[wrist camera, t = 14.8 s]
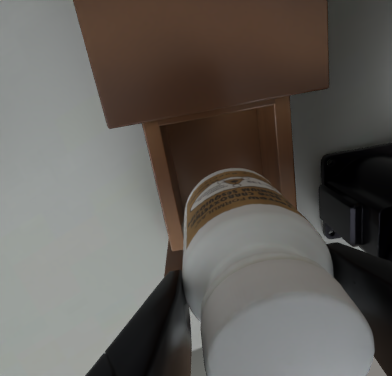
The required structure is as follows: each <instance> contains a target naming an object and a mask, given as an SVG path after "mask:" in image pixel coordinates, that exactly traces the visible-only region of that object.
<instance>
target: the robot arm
mask: <svg viewBox="0 0 392 376" xmlns="http://www.w3.org/2000/svg"><path fill="white" fill-rule="evenodd" d="M329 159H331V160H332V161H331V163H330V164H329V165H327V161H328V160H329ZM321 183H322V184H321V185H320V187H319V206H320V218H321V219H322V220H323V233H324V235H325V236H326V237H327V238H328V239H336V238H341V237H342V238H343V239H344V240H345V241H346V242H347V243H348V244H350V245H351V246H353V247H356V246H359V247H360V248H361V249H362V250H363V251H365V252H363V251H360V250H357V249H355V248H352V247H349V246H346V245H343V244H340V243H330V244H326V245H327V247H328V249H329V252H330V255H331V258H332V262H333V273H334V277H333V278H335V279H336V280H337V281H338V283H339V284H340V285H341V286H342V288H343V289H344V290H345V292H346V293H347V294H348V296H349V297H350V298H351V300H352V301H353V302H354V303H355V305H356V306H357V307H358V309H359V310H360V311H361V313H362V314H363V316H364V317H365V319H366V320H367V322H368V324H369V326H370V328H371V330H372V334H373V339H374V349H375V352H374V357H375V359H376V360H377V361H378V363H379V364H380V366H381V367H382V369H383V370H384V372H385V373H386V375H387V376H392V143H388V144H382V145H377V146H371V147H366V148H360V149H354V150H349V151H343V152H338V153H332V154H327V155H325V156H324V157H323V158H322V159H321ZM331 230H333V232H332V233H330V234H329V232H330V231H331ZM191 349H192V344H191V327H190V313H189V305H188V303H187V300H186V297H185V293H184V288H183V279H182V270H174V271H170V272H168V273H167V275H166V276H165V277H164V278H163V280H162V281H161V282H160V283H159V285H158V286H157V287H156V288H155V290H154V291H153V292H152V293H151V295H150V296H149V297H148V298H147V300H146V301H145V302H144V303H143V305H142V306H141V307H140V308H139V310H138V311H137V312H136V313H135V315H134V316H133V317H132V319H131V320H130V321H129V322H128V324H127V325H126V326H125V327H124V329H123V330H122V331H121V332H120V334H119V335H118V336H117V337H116V339H115V340H114V341H113V342H112V344H111V345H110V346H109V347H108V349H107V350H106V351H105V354H103V355H102V356H101V357H100V358H99V360H98V361H97V362H96V363H95V365H94V366H93V367H92V368H91V369H90V371H89V372H88V373H87V374H86V375H85V376H190V374H191Z"/></svg>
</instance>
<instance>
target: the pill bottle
mask: <svg viewBox="0 0 392 376" xmlns="http://www.w3.org/2000/svg"><path fill="white" fill-rule="evenodd" d="M333 277H334V273H333V262H332V258H331V255H330V252H329V249H328V247H327V245H326V243H325V242H324V240H323V239H322V237H321V236H320V234H319V233H318V232H317V231H316V229H315V228H314V227H313V226H312V225H311V224H310V222H309V221H308V220H307V219H306V218H305V217H304V216H302V215H301V214H300V213H299V212H298V211H297V210H296V208H295V207H293V206H292V204H291V203H290V202H288V201H287V200H286V198H285V197H284V196H283V195H282V194H281V193H280V192H279V191H278V190H277V189H276V188H275V187H274V186H273V185H272V184H271V183H270V182H269V181H268V180H267V179H266V178H264V177H263V176H261V175H260V174H258V173H256V172H254V171H251V170H247V169H243V168H229V169H223V170H220V171H217V172H214V173H212V174H210V175H208V176H207V177H205V178H204V179H202V180H201V181H200V182H199V183H198V184H197V185H196V186H195V188H194V189H193V191H192V192H191V194H190V195H189V197H188V200H187V203H186V207H185V215H184V240H183V265H182V279H183V288H184V293H185V297H186V300H187V303H188V305H189V307H190V309H191V311H192V312H193V314H194V315H195V316H196V318H197V319H198V320H199V321H200V322H201V337H202V348H203V357H204V365H205V371H206V375H207V376H366V375H367V373H368V371H369V370H370V367H371V364H372V361H373V356H374V352H375V349H374V339H373V334H372V330H371V328H370V326H369V324H368V322H367V320H366V319H365V317H364V316H363V314H362V313H361V311H360V310H359V309H358V307H357V306H356V305H355V303H354V302H353V301H352V300H351V298H350V297H349V296H348V294H347V293H346V292H345V290H344V289H343V288H342V286H341V285H340V284H339V283H338V281H337V280H336V279H335V278H333Z"/></svg>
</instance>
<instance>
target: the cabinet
mask: <svg viewBox="0 0 392 376" xmlns="http://www.w3.org/2000/svg"><path fill="white" fill-rule="evenodd" d="M73 2H74V6H75V9H76V13H77V17H78V20H79V24H80V28H81V31H82V35H83V39H84V42H85V46H86V50H87V53H88V57H89V61H90V64H91V68H92V72H93V75H94V79H95V83H96V86H97V90H98V93H99V97H100V101H101V104H102V108H103V112H104V115H105V119H106V123H107V126H108V128H109V129H112V128H117V127H123V126H128V125H134V124H139V123H144V122H150V121H155V120H161V119H166V118H172V117H177V116H182V115H188V114H193V113H199V112H204V111H209V110H215V109H220V108H226V107H231V106H236V105H242V104H247V103H253V102H258V101H263V100H269V99H274V98H280V97H285V96H291V95H296V94H301V93H307V92H312V91H318V90H323V89H328V88H329V50H328V2H327V0H73Z"/></svg>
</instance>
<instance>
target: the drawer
mask: <svg viewBox="0 0 392 376" xmlns="http://www.w3.org/2000/svg"><path fill="white" fill-rule="evenodd" d="M142 126H143V130H144V134H145V138H146V143H147V147H148V151H149V156H150V160H151V164H152V168H153V173H154V177H155V181H156V186H157V190H158V194H159V198H160V203H161V207H162V211H163V216H164V220H165V224H166V228H167V233H168V237H169V241H168V249H167V258H166V266H165V275H164V277H165V276H166V275H167V273H168V272H170V271H174V270H182V265H183V240H184V215H185V207H186V203H187V200H188V197H189V195H190V194H191V192H192V191H193V189H194V188H195V186H196V185H197V184H198V183H199V182H200V181H201V180H202V179H204V178H205V177H207V176H208V175H210V174H212V173H214V172H217V171H220V170H223V169H229V168H243V169H247V170H251V171H254V172H256V173H258V174H260V175H261V176H263V177H264V178H266V179H267V180H268V181H269V182H270V183H271V184H272V185H273V186H274V187H275V188H276V189H277V190H278V191H279V192H280V193H281V194H282V195H283V196H284V197H285V198H286V200H287V201H288V202H290V203H291V204H292V206H293V207H295V208H296V210H297V203H296V187H295V172H294V156H293V141H292V125H291V110H290V96H285V97H280V98H274V99H269V100H263V101H258V102H253V103H247V104H242V105H236V106H231V107H226V108H220V109H215V110H209V111H204V112H199V113H193V114H188V115H182V116H177V117H172V118H166V119H161V120H155V121H150V122H144V123H142Z"/></svg>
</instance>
